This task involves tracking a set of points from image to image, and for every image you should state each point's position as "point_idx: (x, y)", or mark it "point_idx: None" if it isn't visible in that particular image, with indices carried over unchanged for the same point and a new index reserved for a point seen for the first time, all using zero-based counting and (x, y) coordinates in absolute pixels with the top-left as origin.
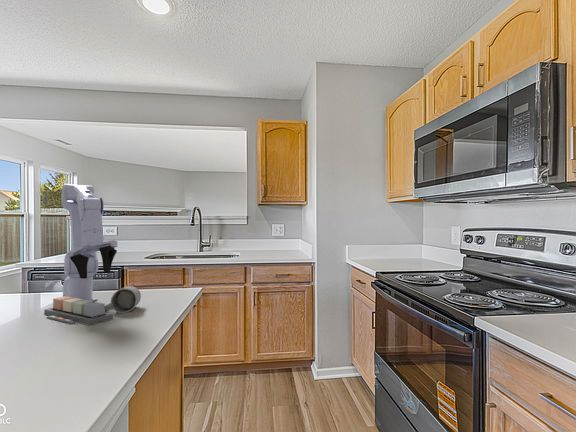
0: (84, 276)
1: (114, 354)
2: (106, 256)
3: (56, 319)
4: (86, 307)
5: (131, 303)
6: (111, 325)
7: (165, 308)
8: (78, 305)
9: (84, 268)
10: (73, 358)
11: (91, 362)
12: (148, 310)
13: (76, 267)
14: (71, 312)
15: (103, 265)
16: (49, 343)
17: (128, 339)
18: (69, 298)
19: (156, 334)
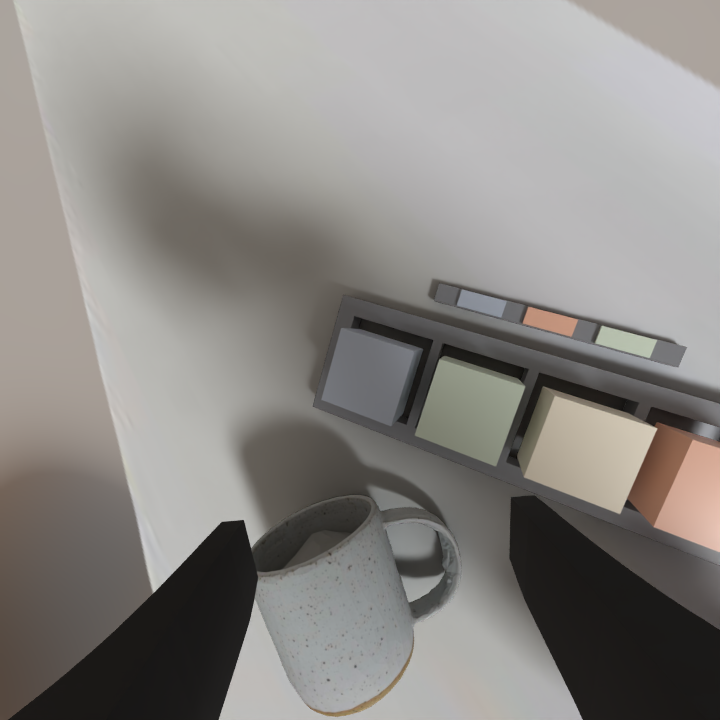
0: (517, 543)
1: (103, 84)
2: (38, 697)
3: (572, 317)
4: (393, 343)
5: (301, 547)
6: (270, 317)
7: None
8: (467, 366)
9: (581, 669)
10: (175, 7)
11: (119, 11)
12: None
13: (663, 594)
14: None
15: (201, 570)
16: (340, 63)
17: (136, 201)
18: (663, 499)
19: (93, 269)
